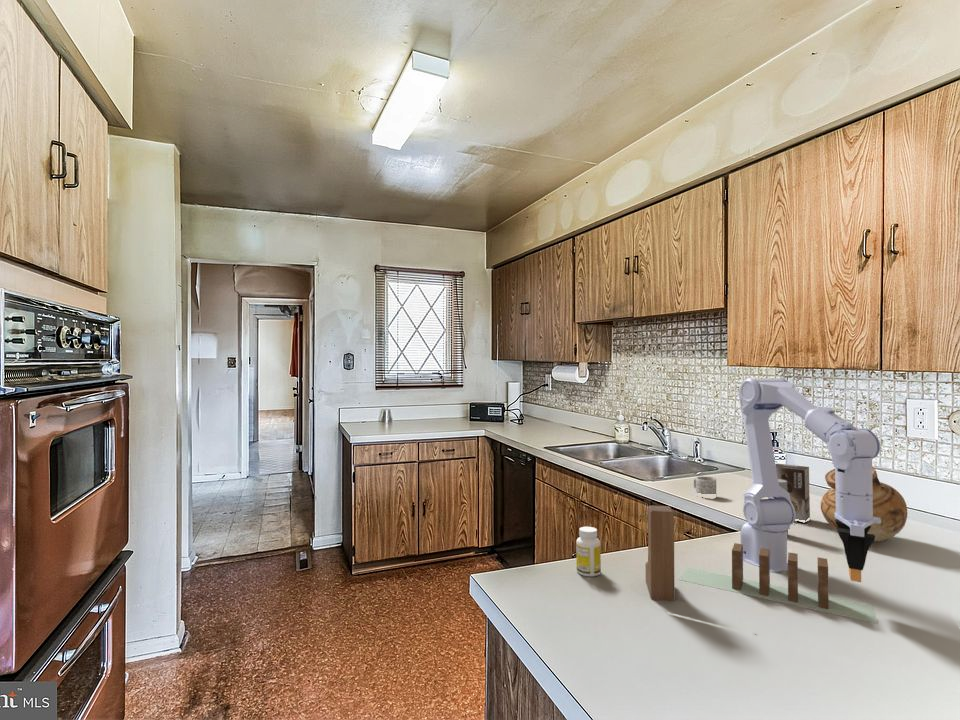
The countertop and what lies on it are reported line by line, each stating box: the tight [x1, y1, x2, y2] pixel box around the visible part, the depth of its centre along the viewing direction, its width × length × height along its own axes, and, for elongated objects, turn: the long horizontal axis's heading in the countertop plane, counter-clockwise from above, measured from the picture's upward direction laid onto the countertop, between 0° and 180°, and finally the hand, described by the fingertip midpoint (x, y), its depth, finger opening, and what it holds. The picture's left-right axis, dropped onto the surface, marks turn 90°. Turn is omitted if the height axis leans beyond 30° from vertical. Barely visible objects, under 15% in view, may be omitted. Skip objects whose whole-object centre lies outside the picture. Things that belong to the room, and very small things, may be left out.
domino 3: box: [787, 551, 799, 603], centre depth 101 cm, size 2×5×8 cm, turn 147°
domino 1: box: [731, 542, 744, 590], centre depth 107 cm, size 2×5×8 cm, turn 147°
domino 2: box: [758, 548, 771, 596], centre depth 104 cm, size 2×5×8 cm, turn 147°
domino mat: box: [678, 567, 878, 624], centre depth 103 cm, size 34×8×1 cm, turn 57°
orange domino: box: [848, 567, 862, 583], centre depth 96 cm, size 2×5×8 cm, turn 147°
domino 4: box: [817, 556, 829, 609], centre depth 99 cm, size 2×5×8 cm, turn 147°
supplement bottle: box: [575, 526, 602, 577], centre depth 114 cm, size 5×5×10 cm
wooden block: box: [645, 505, 675, 602], centre depth 104 cm, size 9×4×18 cm, turn 169°
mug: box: [692, 475, 717, 495], centre depth 182 cm, size 10×7×7 cm, turn 13°
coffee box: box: [775, 463, 811, 521], centre depth 155 cm, size 9×6×16 cm
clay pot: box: [820, 466, 909, 543], centre depth 136 cm, size 19×19×20 cm
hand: (854, 563), depth 96 cm, fingers closed on orange domino, 5 cm apart
